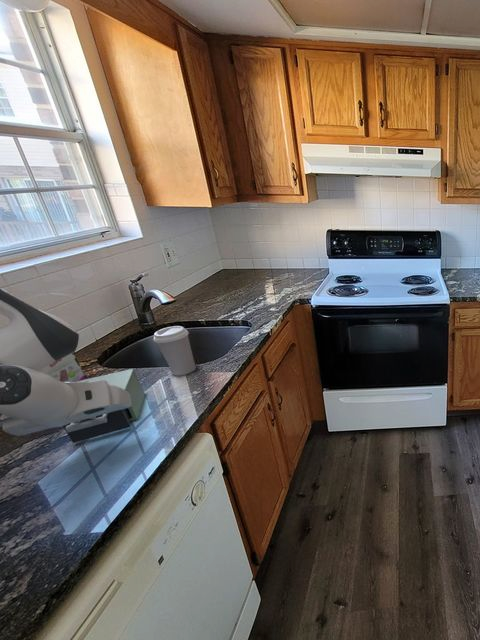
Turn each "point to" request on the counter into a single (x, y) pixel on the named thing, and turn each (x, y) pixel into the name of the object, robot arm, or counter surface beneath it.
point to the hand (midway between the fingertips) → (88, 417)
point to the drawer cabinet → (126, 388)
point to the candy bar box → (65, 370)
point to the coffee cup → (176, 349)
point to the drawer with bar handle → (98, 425)
